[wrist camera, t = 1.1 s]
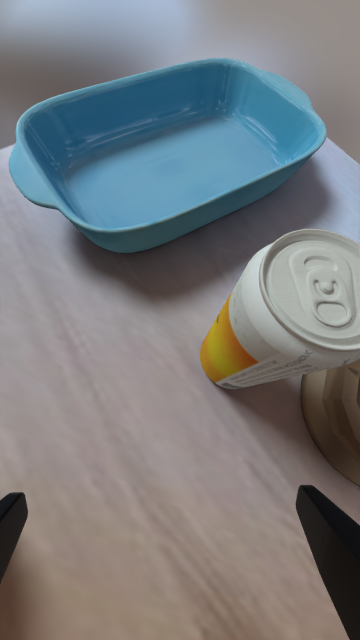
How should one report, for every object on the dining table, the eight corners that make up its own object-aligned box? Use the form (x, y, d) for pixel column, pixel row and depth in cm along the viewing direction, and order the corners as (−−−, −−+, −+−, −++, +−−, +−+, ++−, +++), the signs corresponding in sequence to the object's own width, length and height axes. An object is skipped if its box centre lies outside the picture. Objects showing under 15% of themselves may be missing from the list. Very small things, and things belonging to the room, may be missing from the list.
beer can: (255, 330, 24) (382, 225, 10) (261, 390, 22) (433, 365, 8) (198, 328, 24) (245, 216, 10) (198, 388, 22) (258, 358, 7)
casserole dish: (231, 101, 39) (245, 38, 32) (325, 183, 33) (365, 126, 26) (16, 176, 30) (-27, 111, 23) (91, 306, 24) (62, 268, 17)
